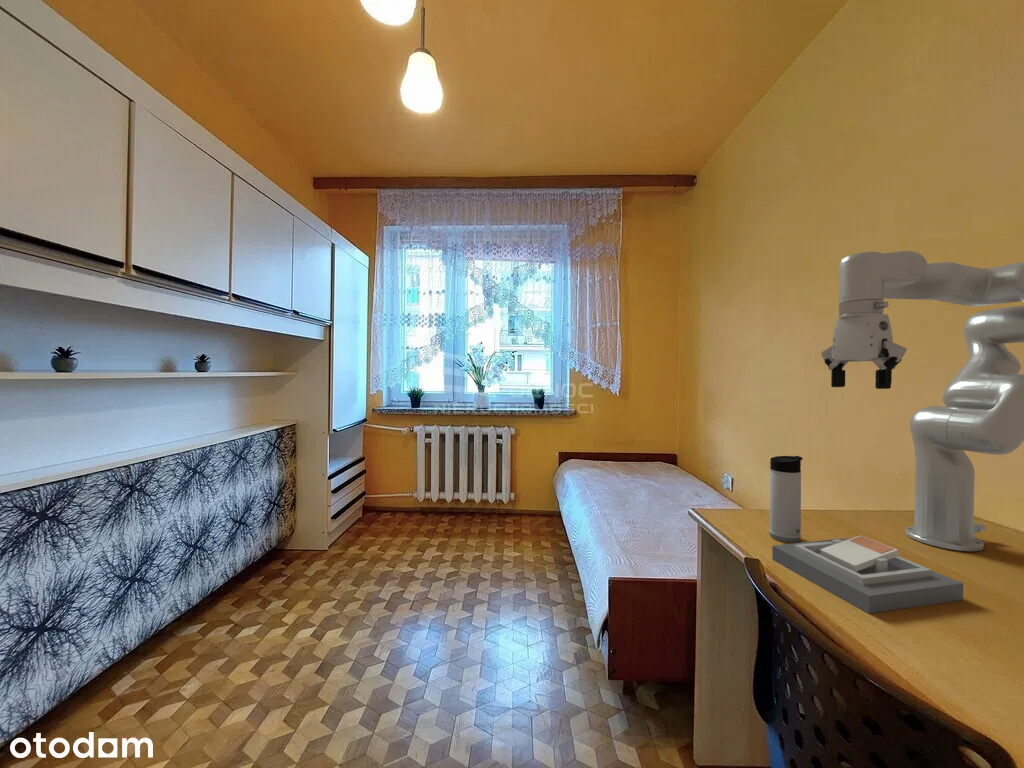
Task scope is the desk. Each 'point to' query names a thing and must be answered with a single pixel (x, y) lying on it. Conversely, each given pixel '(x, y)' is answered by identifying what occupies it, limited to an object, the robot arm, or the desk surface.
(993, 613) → the desk surface
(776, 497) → the travel mug
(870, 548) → the rocker switch
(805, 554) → the switch plate
